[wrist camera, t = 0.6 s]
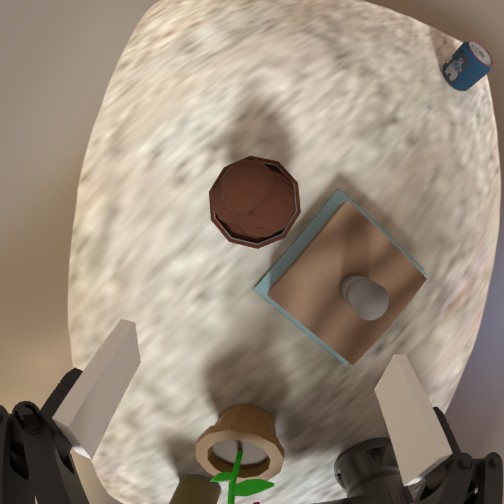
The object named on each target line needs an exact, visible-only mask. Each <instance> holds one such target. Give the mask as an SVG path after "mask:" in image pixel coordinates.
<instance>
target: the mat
mask: <svg viewBox="0 0 504 504" xmlns="http://www.w3.org/2000/svg"><path fill="white" fill-rule="evenodd" d="M347 200H348V201H349V202H350V203H351V204H352V205H353V206H354V207H355V208H356V209H358V210H359V211H360V212H361V213H362V214H363V215H364V216H365V217H366V218H367V219H368V220H369V221H371V222H372V223H373V224H374V225H375V226H376V227H377V228H378V229H379V230H380V231H381V232H382V233H383V234H384V235H385V236H386V237H387V238H388V239H389V240H390V241H391V242H392V243H393V244H394V245H395V246H396V247H397V248H398V249H399V250H400V251H401V252H402V253H403V254H404V255H405V256H406V257H407V258H408V259H409V260H410V261H411V262H412V263H413V264H414V266H415V267H416V268H417V269H418V270H419V271H420V272H421V273H422V274H423V275H424V274H425V272H424V271H423V270H422V269H421V268H420V267H419V265H418V264H417V263H416V262H415V261H414V260H413V259H412V258H411V257H410V256H409V255H408V254H407V253H406V252H405V251H404V250H403V249H402V248H401V247H400V245H399V244H398V243H397V242H396V241H395V240H394V239H393V238H392V237H391V236H390V235H389V234H388V233H387V232H385V231H384V230H383V229H382V228H381V227H380V226H379V225H378V224H377V223H376V222H375V221H374V220H373V219H372V218H371V217H370V216H369V215H368V214H367V213H366V212H364V211H363V210H362V209H361V208H360V207H359V206H358V205H357V204H356V203H355V202H353V201H352V200H351V199H350V198H349V197H348V196H347V195H346V194H344V193H343V192H342V191H341V190H340V189H338V190H337V191H336V192H335V193H334V195H333V196H332V197H331V198H330V199H329V201H328V202H327V203H326V204H325V206H324V207H323V208H322V209H321V210H320V212H319V213H318V214H317V215H316V216H315V218H314V219H313V220H312V221H311V222H310V224H309V225H308V226H307V227H306V228H305V230H304V231H303V232H302V233H301V234H300V236H299V237H298V238H297V239H296V240H295V242H294V243H293V244H292V245H291V246H290V248H289V249H288V250H287V251H286V252H285V253H284V255H283V256H282V257H281V258H280V259H279V260H278V262H277V263H276V264H275V265H274V266H273V267H272V269H271V270H270V271H269V272H268V273H267V274H266V276H265V277H264V278H263V279H262V280H261V281H260V283H259V284H258V285H257V286H256V287H255V288H254V291H255V292H257V293H258V294H259V295H260V296H261V297H262V298H264V299H265V300H266V301H267V302H268V303H270V304H271V305H272V306H273V307H274V308H276V309H277V310H278V311H279V312H280V313H282V314H283V315H284V316H285V317H286V318H288V319H289V320H290V321H291V322H293V323H294V324H295V325H296V326H297V327H299V328H300V329H301V330H302V331H303V332H305V333H306V334H307V335H308V336H310V337H311V338H312V339H313V340H315V341H316V342H317V343H318V344H320V345H321V346H322V347H323V348H324V349H326V350H327V351H328V352H329V353H331V354H332V355H333V356H334V357H336V358H337V359H338V360H340V361H341V362H342V363H343V364H345V365H347V364H348V363H349V362H348V361H347V360H345V359H344V358H343V357H342V356H340V355H339V354H338V353H337V352H335V351H334V350H333V349H332V348H330V347H329V346H328V345H327V344H326V343H324V342H323V341H322V340H321V339H319V338H318V337H317V336H316V335H315V334H313V333H312V332H311V331H310V330H308V329H307V328H306V327H305V326H304V325H302V324H301V323H300V322H299V321H297V320H296V319H295V318H294V317H293V316H291V315H290V314H289V313H288V312H287V311H285V310H284V309H283V308H282V307H281V306H279V305H278V304H277V303H276V302H275V301H273V300H272V299H271V298H270V297H269V296H268V291H269V288H270V287H271V286H272V285H273V284H274V283H275V282H276V280H277V279H278V278H279V277H280V276H281V275H282V274H283V272H284V271H285V270H286V269H287V268H288V267H289V265H290V264H291V263H292V262H293V261H294V260H295V258H296V257H297V256H298V255H299V254H300V253H301V251H302V250H303V249H304V248H305V247H306V245H307V244H308V243H309V242H310V241H311V239H312V238H313V237H314V236H315V235H316V233H317V232H318V231H319V230H320V229H321V227H322V226H323V225H324V224H325V223H326V221H327V220H328V219H329V218H330V216H331V215H332V214H333V213H334V212H335V210H336V209H337V208H338V207H339V205H340V204H342V203H343V202H345V201H347Z"/></svg>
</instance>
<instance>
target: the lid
mask: <svg viewBox="0 0 504 504" xmlns="http://www.w3.org/2000/svg"><path fill="white" fill-rule="evenodd" d="M425 280H426V278H425V276H424V275H423V274H422V273H421V272H420V271H419V270H418V269H417V268H416V267H415V266H414V264H413V263H412V262H411V261H410V260H409V259H408V258H407V257H406V256H405V255H404V254H403V253H402V252H401V251H400V250H399V249H398V248H397V247H396V246H395V245H394V244H393V243H392V242H391V241H390V240H389V239H388V238H387V237H386V236H385V235H384V234H383V233H382V232H381V231H380V230H379V229H378V228H377V227H376V226H375V225H374V224H373V223H372V222H371V221H369V220H368V219H367V218H366V217H365V216H364V215H363V214H362V213H361V212H360V211H359V210H358V209H356V208H355V207H354V206H353V205H352V204H351V203H350V202H349V201H348V200H347V201H345V202H343V203H342V204H340V205H339V207H338V208H337V209H336V210H335V212H334V213H333V214H332V215H331V216H330V218H329V219H328V220H327V221H326V223H325V224H324V225H323V226H322V227H321V229H320V230H319V231H318V232H317V233H316V235H315V236H314V237H313V238H312V239H311V241H310V242H309V243H308V244H307V245H306V247H305V248H304V249H303V250H302V251H301V253H300V254H299V255H298V256H297V257H296V258H295V260H294V261H293V262H292V263H291V264H290V265H289V267H288V268H287V269H286V270H285V271H284V272H283V274H282V275H281V276H280V277H279V278H278V279H277V280H276V282H275V283H274V284H273V285H272V286H271V287H270V288H269V291H268V296H269V297H270V298H271V299H272V300H273V301H275V302H276V303H277V304H278V305H279V306H281V307H282V308H283V309H284V310H285V311H287V312H288V313H289V314H290V315H291V316H293V317H294V318H295V319H296V320H297V321H299V322H300V323H301V324H302V325H304V326H305V327H306V328H307V329H308V330H310V331H311V332H312V333H313V334H315V335H316V336H317V337H318V338H319V339H321V340H322V341H323V342H324V343H326V344H327V345H328V346H329V347H330V348H332V349H333V350H334V351H335V352H337V353H338V354H339V355H340V356H342V357H343V358H344V359H345V360H347V361H348V362H349V363H350V364H352V365H354V364H355V363H356V362H357V361H358V360H359V359H360V358H361V357H362V356H363V354H364V353H365V352H366V351H367V350H368V349H369V348H370V347H371V346H372V345H373V344H374V343H375V342H376V341H377V339H378V338H379V337H380V336H381V335H382V334H383V333H384V332H385V330H386V329H387V328H388V327H389V326H390V325H391V324H392V322H393V321H394V320H395V319H396V318H397V316H398V315H399V314H400V313H401V312H402V310H403V309H404V308H405V307H406V305H407V304H408V303H409V302H410V300H411V299H412V298H413V296H414V295H415V294H416V293H417V291H418V290H419V289H420V287H421V286H422V285H423V283H424V282H425Z"/></svg>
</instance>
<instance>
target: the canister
mask: <svg viewBox="0 0 504 504" xmlns="http://www.w3.org/2000/svg"><path fill="white" fill-rule="evenodd" d="M220 494H221V488H220V486H219V485H218V484H217V483H215V482H211V480H210V479H208V478H206V477H203V476H198V475H185V476H183V477H181V479H180V481H179V484H178V486H177V489H176V491H175V493H174V495H173V497H172V499H171V501H170V503H169V504H217V502H218V498H219V495H220Z"/></svg>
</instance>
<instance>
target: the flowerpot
mask: <svg viewBox="0 0 504 504" xmlns="http://www.w3.org/2000/svg"><path fill="white" fill-rule="evenodd" d="M196 459H197V461H198V462H199V463H200V464H201V466H202V467H203V468H204V469H205V470H206V472H208V473H210V474H212V475H214V477H213V478H212V479H211V482H224V481H227V482H229V491H228V504H234V500H235V496H249V495H252V494H255V493H259V492H261V491H264V490H266V489H268V488H271V487H273V486H274V483H271V482H268V481H267V480H269V479H270V478H272V477H274V476H275V475H277V474H278V473H280V471H281V468H282V464H283V461H284V449H283V447H282V446H281V444H280V442H279V441H278V439H277V437H276V432H275V425H274V422H273V420H272V418H271V416H270V414H269V413H268V412H266V411H264V410H263V409H261V408H259V407H258V406H254V405H247V404H239V405H236V406H232V407H229V408H228V409H227V410H226V411H225V412H224V413H223V414H222V415H221V416H220V418H219V419H218V421H217V422H216V424H215V425H214V426H210V427H209V428H208V429H207V430H206V431H205V432H204V433H203V434H202V435H201V436H200V437H199V438H198V440H197V442H196ZM236 483H237V484H236ZM253 504H260V503H259V502H254V503H253Z"/></svg>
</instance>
